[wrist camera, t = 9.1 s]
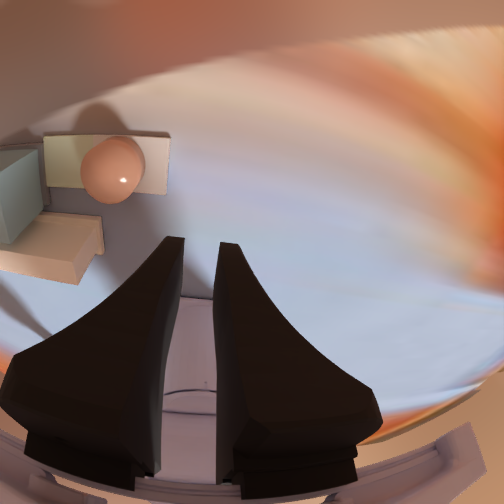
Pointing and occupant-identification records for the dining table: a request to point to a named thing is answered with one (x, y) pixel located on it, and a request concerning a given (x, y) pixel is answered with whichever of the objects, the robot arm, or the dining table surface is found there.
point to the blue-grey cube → (18, 192)
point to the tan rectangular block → (55, 247)
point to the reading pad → (41, 162)
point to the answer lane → (76, 146)
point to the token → (112, 169)
